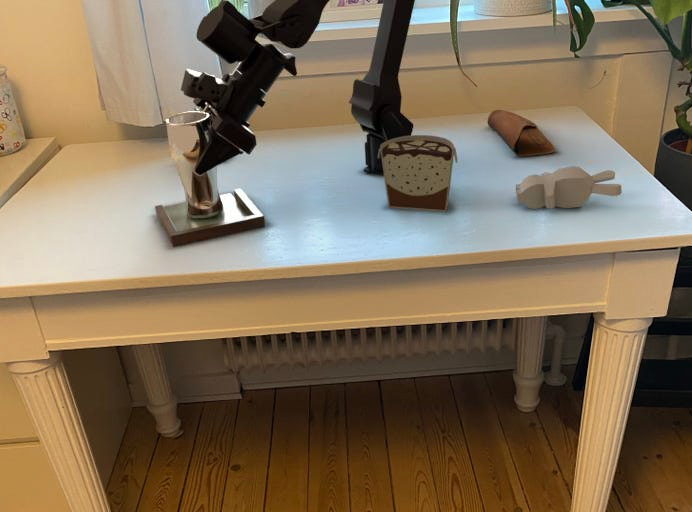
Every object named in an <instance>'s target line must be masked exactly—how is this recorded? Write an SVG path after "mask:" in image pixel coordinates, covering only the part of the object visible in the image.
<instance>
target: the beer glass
mask: <svg viewBox="0 0 692 512" xmlns="http://www.w3.org/2000/svg"><path fill="white" fill-rule="evenodd" d="M165 125H166V134H167V140H168V146H169V150H170V154H171V158H172V161H173V164H174V167H175V170H176V172H177V174H178V175H177V176H178V177H179V179H180V182H181V185H182V187H183V191H184V197H185V202H186V213H187V215H188V216H190V217H192V218H208V217H212V216H215V215H218V214H220V213H221V212H222V211H223V210H224V205H223V202H222V199H221V197H220V195H221V194H220V191H219V185H218V165H217V166H216V167H214V168H212V169H210V170H209V171H207V172H205V173H203V174H202V175H199V174H197V173H196V172H195V168H196V166H197V163H198V161H199V159H200V157H201V155H202V153H203V151H204V149H205V147H206V145H207V143H208V141H209V134H208V128H207V125H209V126H210V127H212V125H211V122H210V118H209V114H208V113H205V112H199V111H194V110H193V111H184V112H181V113H180V112H179V113H176V114H172V115H170V116H168V117H167V118H166V119H165Z"/></svg>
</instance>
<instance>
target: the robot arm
mask: <svg viewBox="0 0 692 512" xmlns="http://www.w3.org/2000/svg"><path fill="white" fill-rule="evenodd" d="M330 1H331V0H274V1H273V2H271V3H270V4H269V5H268V6H266V7H265V9H264V10H263V12H262V13H261V14H258V15H256V16H254V17H250V18H247V17H246V16H245V15H244V14H242V13H241V12H240V11H239V10H238V8H237V7H236V6H235V5H234V4H233V3H232V2H231V1H229V0H220V2H219V3H218V5H217V6H215V7H214V8H212V9H211V10H210V11H209V12H208V13H207V14H206V16H203V17H202V18H201V20H200V22H199V24H198V27H197V30H196V35H195V37H196V40H197V41H199V42H200V43H201V44H202V45H204V46H205V47H206V48H208V49H209V50H210V51H212V53H214V54H215V55H216V56H218V57H219V58H220V59H222V60H223V61H224V62H226V63H227V64H228V65H232V64H235V63H238V65H237V66H236V67H235V69H234V71H233V72H232V73H230V71H228V72H227V73H224V75H223V76H222V77H221V78H218V77H216V76H215V75H214V74H208V73H207V72H206V71H202V72H199V71H196V70H193V69H190V68H185V70H184V73H183V74H184V75H183V78H182V83H181V87H180V91H181V92H183V95H184V96H186V97H188V98H191V99H193V100H192V102H193V104H194V105H195V106H196V107H193V108H194V110H193V111H199V112H205V113H208V114H209V118H210V122H211V125H212V127H210V126H209V125H207V128H208V134H209V141H208V143H207V145H206V147H205V149H204V151H203V153H202V155H201V157H200V159H199V161H198V163H197V166H196V168H195V172H196V173H197V174H199V175H202V174H203V173H205V172H207V171H209V170H210V169H212V168H214V167H216V166H217V167H218V166H220V165H221V164H223V163H225V162H227V161H228V160H231V159H232V158H233V159H234V157H237V156H238V155H243V154H244V153H246V154H247V155H251V153H252V152H253V150H254V149H255V148H256V146H257V137H256V135H255V134H254V133H253V131H251V129H250V128H249V127H250V126H251V124H250V123H249V122H248V121H249V120H250V118H251V117H252V115H253V114H254V112H255V111H256V109H257V108H258V107H260V108H263V107H264V106H265V104H266V103H267V102H266V101H265V100H264V98H265V97H266V96H267V94H268V92H269V91H270V90H271V88H272V87H273V85H274V84H275V82H276V81H277V79H278V78H279V76H280V75H281V74H282V73H283V71H284V70H285V71H286V72H288V73H289V74H290V75H291V76H293V77H296V76H297V75H298V69H297V65H296V56H294V55H293V54H292V53H291V52H288V53H283V52H282V51H281V50H280V49H279V48H277V47H276V46H275V45H274V44H276V45H279V46H282V47H285V48H287V49H301V48H303V47H304V46H305V45H306V44H308V42H309V41H310V39H311V37H312V36H313V34H314V32H315V31H316V29H317V28H318V26H319V24H320V22H321V19H322V15H323V11H324V9H325V8H326V6H327V5H328V4H329V2H330ZM415 2H416V0H383V2H382V8H381V11H380V17H379V22H378V27H377V31H376V37H375V40H374V41H375V42H374V46H373V51H372V55H371V60H370V65H369V69H368V71H367V73H366V74H365V75H364V76H363V78H362V79H360V78H355V79H353V84H352V93H351V97H350V98H349V101H348V104H351V106H350V107H351V108H350V112H351V115H352V117H353V118H354V120H355V121H356V122H357V123H358V124H359V126H360V128H361V131H362V132H364V133H367V134H366V135H365V136H366V141H365V142H364V160H365V165H366V167H364V168H363V172H364V173H368V174H369V173H370V174H376V175H384V172H383V165H382V158H381V157H379V158H378V151H379V149H380V145H381V144H382V143H384V142H386V141H388V140H391V139H394V138H398V137H403V136H412V133H413V130H414V123H413V122H412V121H411V120H410V119H408V118H407V116H405V115H404V114H403V113H402V112H401V108H402V98H403V97H402V90H401V86H400V80H399V74H400V70H401V64H402V61H403V55H404V50H405V47H406V41H407V39H408V38H407V37H408V33H409V30H410V29H409V28H410V24H411V21H412V15H413V12H414V11H413V10H414V6H415ZM256 38H261V39H264V40H267V41H269V42H271V43H266V44H264V45H263V44H261V43H260V42H259V41H258V40H256ZM272 43H273V44H272ZM198 108H199V109H198Z"/></svg>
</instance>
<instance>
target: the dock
mask: <svg viewBox="0 0 692 512" xmlns="http://www.w3.org/2000/svg"><path fill="white" fill-rule="evenodd" d="M233 194H234V195H233ZM233 194H232V193H231V192H230V193H224V194H220V197H221V199H222V202H223V205H224V210H223V211H222V212H221V213H220V214H218V215H215V216H212V217H208V218H192V217H190V216H188V215H187V213H186V201H185V202H182V203H176V204H171V205H167V206H163V204H158V205H155V206H154V210H155V214H156V218H157V219H158V221H159V223H160V225H161V227H162V229H163V230H164V232H165V234H166V237H167V238H168V240H169V242H170V244H171V246H172V248H176V247H181V246H185V245H189V244H193V243H198V242H199V243H200V242H203V241H207V240H212V239H216V238H221V237H226V236H230V235H235V234H238V233H239V234H240V233H243V232H247V231H252V230H256V229H261V228H265V227H266V221H265V215H264V214H263V213H262V211H260V210H259V208H258V207H257V206H256V205H255V204H254V202H253V201H252V200H251V199H250V198H249V196H247V194H246V193H245V192H244V191H243V190H242V188H236V189H233Z"/></svg>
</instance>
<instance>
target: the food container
mask: <svg viewBox="0 0 692 512" xmlns="http://www.w3.org/2000/svg"><path fill="white" fill-rule="evenodd" d="M457 154H458V153H457V148H456V147H455V144H454V142H452V141H451V139H447V138H445V137H441V136H436V135H428V134H414V135H412V134H411V136H403V137H398V138H394V139H391V140H388V141H386V142H384V143H382V144H381V145H380V149H379V151H378V158H379V157H381V158H382V165H383V172H384V174H383V178H384V185H385V192H386V199H387V206H388V208H389V209H400V210H401V209H402V210H415V211H428V212H440V213H441V212H442V213H447V212H448V207H449V198H450V192H451V191H450V190H451V181H452V173H453V164H454V161H455V164H457V163H458V155H457Z"/></svg>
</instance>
